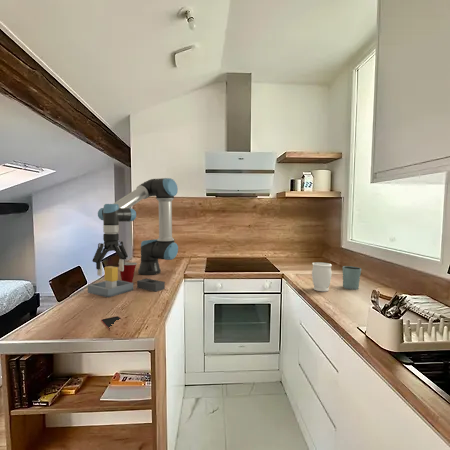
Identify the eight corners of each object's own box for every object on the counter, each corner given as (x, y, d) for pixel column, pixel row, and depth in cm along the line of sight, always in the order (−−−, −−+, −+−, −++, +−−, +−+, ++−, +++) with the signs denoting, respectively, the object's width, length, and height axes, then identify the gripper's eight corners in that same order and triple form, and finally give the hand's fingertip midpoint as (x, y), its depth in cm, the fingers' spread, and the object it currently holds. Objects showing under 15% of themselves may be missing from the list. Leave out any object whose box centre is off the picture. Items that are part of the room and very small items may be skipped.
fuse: (110, 287, 156) (110, 265, 156) (117, 289, 153) (117, 267, 153) (104, 289, 153) (104, 267, 153) (111, 291, 150) (112, 268, 150)
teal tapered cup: (338, 286, 173) (338, 266, 173) (351, 285, 177) (351, 265, 176) (350, 290, 164) (351, 269, 163) (364, 289, 167) (365, 268, 167)
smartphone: (118, 315, 118) (130, 327, 107) (118, 317, 118) (130, 328, 107) (100, 319, 113) (111, 331, 102) (100, 320, 113) (111, 333, 102)
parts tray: (113, 285, 164) (113, 279, 164) (133, 290, 156) (133, 282, 156) (87, 292, 150) (87, 284, 150) (108, 297, 142) (108, 289, 142)
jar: (318, 292, 158) (319, 265, 157) (307, 287, 168) (308, 262, 167) (334, 291, 161) (335, 265, 160) (323, 286, 171) (324, 261, 170)
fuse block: (146, 285, 167) (146, 278, 167) (164, 288, 160) (164, 281, 160) (137, 287, 161) (137, 280, 161) (155, 291, 154) (155, 284, 154)
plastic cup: (140, 281, 176) (140, 261, 175) (128, 285, 166) (129, 264, 165) (126, 279, 180) (126, 260, 179) (113, 283, 170) (113, 263, 169)
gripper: (125, 231, 164) (125, 268, 165) (84, 234, 143) (84, 276, 144) (134, 232, 161) (134, 270, 162) (94, 235, 139) (94, 278, 140)
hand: (111, 273), depth 153 cm, fingers open, 13 cm apart
